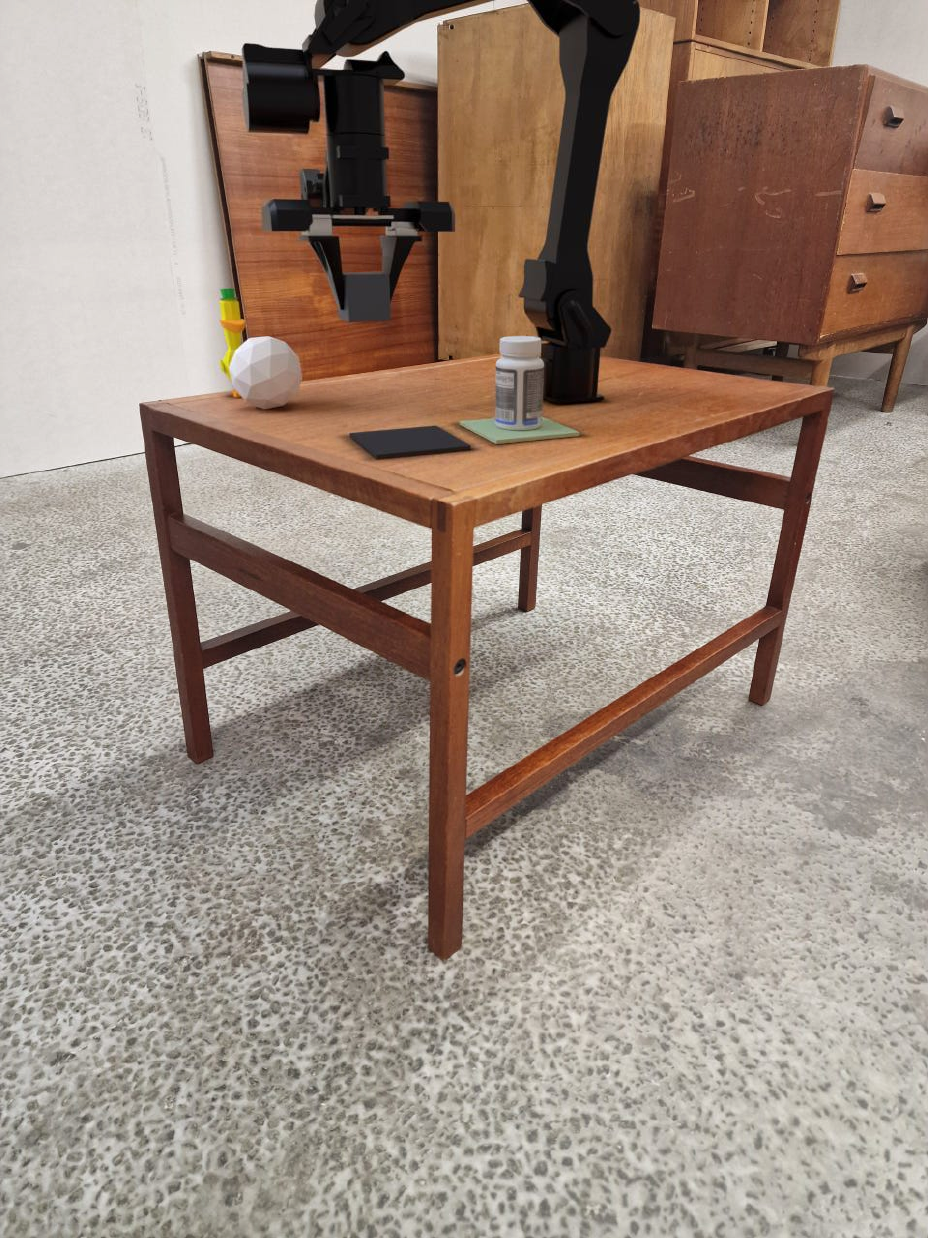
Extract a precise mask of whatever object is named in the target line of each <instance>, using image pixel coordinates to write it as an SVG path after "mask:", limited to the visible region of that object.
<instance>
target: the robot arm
mask: <svg viewBox="0 0 928 1238" xmlns="http://www.w3.org/2000/svg"><path fill="white" fill-rule="evenodd" d="M494 1H496V0H316V2H315V7H314V15H313V17H314V23H315V24H314V25H315V28H314V30H313V32H312V33H311V34H308V35H307V36H306V38H305V39H304V41H303V42H302V43H301V49H299V48H286V47H270V46H265V45H262V44H259V43H251V42H245V43H243V44H242V47H241V60H242V87H243V88H242V90H241V101H242V110H243V119H244V125H245V129H246V132H247V133H252V134H279V135H280V134H281V135H304V136H308V135H309V132H310V128H311V127H310V126H311V123H315V124H316V123H317V124H318V123H319V122H320V119H321V94H320V84H319V82H322V94H323V95H322V96H323V107H324V108H323V109H324V112H323V113H324V124H325V125H324V126H325V128H324V129H325V141H326V142H325V143H326V149H325V157H324V161H325V162H324V163H325V166H324V170H323V171H324V172H322V173H321V171H320V170H319V169H318V168H301V169H300V172H299V187H300V188H299V189H300V197H301V199H299V198H298V199H297V198H296V199H295V198H273V199H267V200H265V201H264V202H263V204H262V205H261V209H260V210H261V212H260V215H261V224H262V225H261V226H262V231H263V232H301V235H297V236H298V241H299V242H305V243H306V242H307V243H308V244H309V245H310V247H311V248H312V250H313V251H314V253H315V254H316V257H317V258H318V261H319V263H320V264H321V266H322V269H323V271H324V274H325V277H326V279H327V282H328V284H329V287H330V290H331V292H332V295H333V298H334V300H335V302H336V306H337V309H338V308H339V309H340V310H344V297H345V291H344V281H343V263H342V253H341V245H340V244H341V243H340V236H339V235H334V233H333V232H334V231H333V230H334V229H333V227H349V228H350V227H356V228H357V227H360V228H361V227H362V228H363V227H367V228H369V227H372V228H373V227H374V228H375V227H376V228H377V227H379V228H383V227H384V228H385V235H379V240H380V246H381V251H382V257H381V273H386V274H389V285H390V304H391V303H392V300H393V296H394V294H395V291H396V288H397V285H398V281H399V279H400V276H401V273H402V270H403V268H404V265H405V264H406V261H407V260H408V257H409V255H410V253H411V251H412V249H413V246H414V244H415V243H416V242H417V243H418V242H419V243H422V242H423V235H419V234H418V232H421V233H422V232H425V233H426V232H428V233H444V232H445V233H456V213H455V210H454V207H453V206H452V205H451V203H450V202H449V201H425V200H422V201H421V200H419V201H405V202H403V204H402V207H391V195H388V177H387V175H388V174H387V161H388V160H390V148H389V147H388V146H386V145H387V144H386V143H387V142H386V119H385V88H384V87H385V86H396V85H397V84H399V83H400V82H402V81H403V80H404V79H405V78H406V73H405V71H404V70H403V69H402V68H401V67H400V66H399V65H398V64H397V63H396V62H395V61H394V60H393V58H392V56H391V54H390V52H389V51H388V50H384V51H383V52H382V53H380V54H379V55H378V57H377V59H376V60H371V59H370V60H369V59H352V58H353V57H356V56H359V55H361V54H362V53H364V52H366V51H368V50H370V49H371V48H373V47H375V46H377V45H379V44H382V42H385V41H387V40H388V39H390V38H391V37H393V36H395V35H397V34H398V33H400V32H402V31H403V30H405V29H407V28H409V27H411V26H412V25H414V24H417V23H421V22H423V21H428V20H430V19H431V20H432V19H434V18H438V17H442V16H445V15H448V14H452V13H455V12H459V11H462V10H465V9H469V8H470V9H471V8H473V7H476V6H480V5H483V4H487V3H491V2H494ZM526 2H527V3H528V4H529V6H530V7H531V9H532V10H533V11H534V13H535V14H536V16H537V17H538V19H539V20H540V21H541V23H542V24H543V26H545V27H546V28H547V29H548V30H550V31H551V32H552V33H553V34H554V35H555V36H557V38H558V42H559V43H558V49H559V50H558V62H559V68H560V73H561V77H562V83H563V87H564V92H565V93H564V94H565V96H564V97H565V98H564V103H563V104H564V105H563V112H562V119H561V127H560V134H559V140H558V149H557V154H556V155H557V156H556V161H555V170H554V176H553V177H554V178H553V185H552V193H551V199H550V205H549V214H548V221H547V227H546V235H545V241H544V244H543V247H542V248H541V251H540V252H539V254H538V256H537V258H535V259H534V258H525V259H524V264H523V283H522V287H521V289H520V291H519V294H518V298H521V299H523V301H522V302H523V313H524V315H526V317H527V319H528V320H529V321H530V323H531V324H532V325H534V326H535V331H536V335H537V337H539V338H541V351H540V352H541V354H540V356H539V358H540V359H542V360H543V362H544V383H543V400H546V401H548V402H551V403H554V404H571V403H581V402H582V403H584V402H595V401H605V395H604V394H600V393H598V390H599V378H600V377H599V376H600V364H601V363H600V362H601V349H604V348H606V347H607V344H608V342H609V338H610V336H611V334H612V327H611V326H610V325H609V324H608V322H607V321H606V320H605V319H604V318H603V316H602V315H601V313H599V311H598V310H597V309H596V307H595V306H594V273H593V268H592V263H591V258H590V253H589V238H590V232H591V227H592V220H593V213H594V207H595V200H596V195H597V187H598V182H599V176H600V168H601V163H602V157H603V156H602V155H603V150H604V144H605V137H606V131H607V125H608V119H609V118H608V117H609V113H610V112H609V111H610V105H611V99H612V96H613V93H614V91H615V89H616V87H617V85H618V83H619V81H620V79H621V77H622V75H623V73H624V71H625V69H626V67H627V65H628V63H629V61H630V57H631V54H632V51H633V48H634V44H635V41H636V37H637V34H638V31H639V28H640V23H641V4H640V2H639V0H526ZM336 56H338V57H341V58H346V60H345V61H344V64H343V69H327V68H322V67H324V66H325V65H327V63H329V62H330V61H331V60H333V59H334V58H335V57H336ZM371 209H372V212H377V214H376V215H375V214H367V213H368V212H369V210H371ZM543 342H544V343H543Z"/></svg>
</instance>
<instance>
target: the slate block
mask: <svg viewBox="0 0 928 1238" xmlns="http://www.w3.org/2000/svg"><path fill="white" fill-rule="evenodd" d="M343 281H344V291H345V297H344V310H340V309H339V308H338V307H337V318H338V319H340V320H343V321H345V322H347V323H361V322H362V323H363V322H364V323H366V322H389V321H391V320H392V319H391V317H392V316H391V303H390V285H389V274H386V273H382V272H381V271H380V272H379V271H357V272H356V271H349V272H348V271H344V272H343Z"/></svg>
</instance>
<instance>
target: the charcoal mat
mask: <svg viewBox="0 0 928 1238" xmlns="http://www.w3.org/2000/svg"><path fill="white" fill-rule="evenodd" d="M348 436H349V438H350V439H351V440H352V441H354V442H355V443H356V444H358V446H360V448H362V449H364V450H365V451H366V452H367V453H369V454H370V455H371V456H372V457H373V458H375V459H376V460H381V459H392V458H402V457H411V456H421V455H432V454H442V453H443V454H444V453H452V452H460V451H470V450H471V449H472V448H471V445H470V444H469V443H467V442H465V441H464V440H462V439H460V438H458V437H456V436H455V435H453V434H451V433H449V432H448V431H446V430H444V429H443V428H441V427H439V426H437V425H428V426H427V425H426V426H414V427H403V428H392V429H391V428H390V429H380V430H369V431H358V432H357V431H356V432H349V433H348Z"/></svg>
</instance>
